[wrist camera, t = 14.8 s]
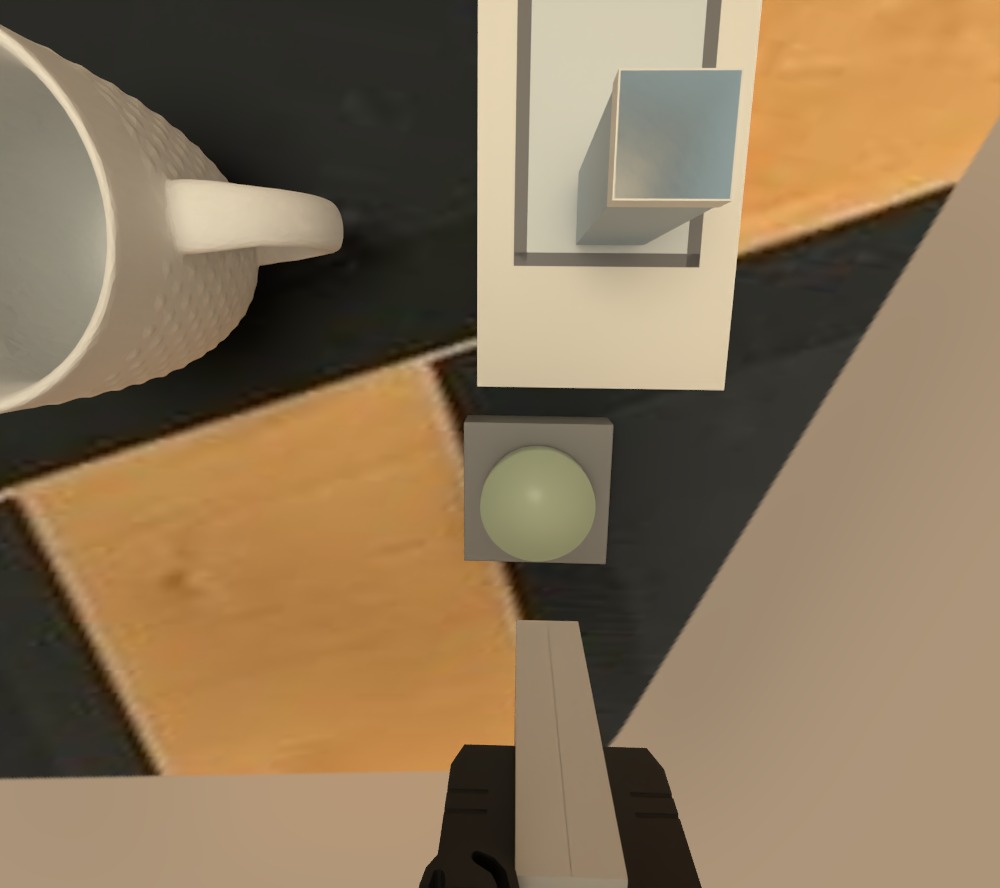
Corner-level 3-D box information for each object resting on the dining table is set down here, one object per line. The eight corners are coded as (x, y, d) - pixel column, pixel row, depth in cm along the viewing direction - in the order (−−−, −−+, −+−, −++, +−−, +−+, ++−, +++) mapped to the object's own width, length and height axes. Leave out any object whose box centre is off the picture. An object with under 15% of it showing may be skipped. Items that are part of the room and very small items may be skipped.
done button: (484, 531, 30) (479, 559, 27) (485, 433, 29) (480, 450, 26) (584, 533, 30) (592, 563, 27) (589, 435, 29) (598, 453, 25)
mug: (363, 114, 26) (217, -67, 14) (393, 358, 29) (291, 396, 16) (49, 146, 27) (-365, 3, 14) (104, 381, 30) (-210, 434, 17)
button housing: (468, 544, 31) (464, 560, 29) (467, 414, 29) (464, 422, 27) (600, 547, 31) (605, 563, 29) (607, 417, 29) (613, 424, 27)
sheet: (477, 385, 29) (477, 386, 29) (479, -205, 24) (478, -214, 23) (721, 389, 29) (724, 390, 28) (779, -210, 23) (784, -220, 23)
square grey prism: (572, 248, 27) (612, 200, 15) (575, 176, 26) (618, 68, 15) (640, 248, 27) (731, 200, 15) (644, 176, 26) (744, 68, 14)
